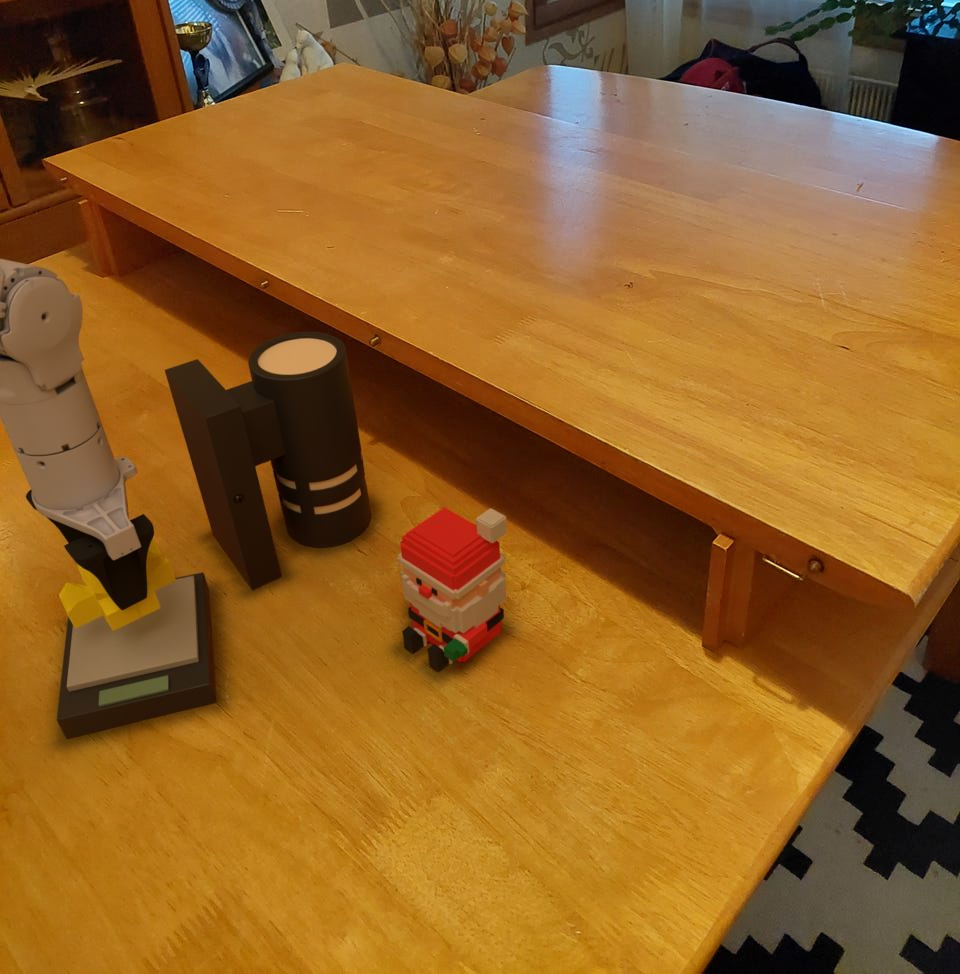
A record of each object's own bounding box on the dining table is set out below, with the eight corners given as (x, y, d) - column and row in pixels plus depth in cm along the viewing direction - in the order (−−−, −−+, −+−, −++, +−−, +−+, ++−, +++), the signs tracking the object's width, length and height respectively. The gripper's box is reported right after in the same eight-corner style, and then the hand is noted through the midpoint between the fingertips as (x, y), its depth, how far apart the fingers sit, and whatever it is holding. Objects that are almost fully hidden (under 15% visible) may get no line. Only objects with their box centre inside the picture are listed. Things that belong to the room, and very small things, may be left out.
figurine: (385, 635, 75) (367, 521, 68) (447, 589, 79) (436, 476, 72) (460, 688, 70) (449, 572, 63) (522, 637, 74) (518, 522, 67)
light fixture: (391, 529, 86) (367, 361, 75) (253, 592, 80) (206, 419, 69) (342, 479, 92) (314, 318, 82) (212, 534, 87) (163, 368, 76)
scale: (216, 703, 71) (208, 678, 69) (65, 739, 68) (53, 714, 67) (209, 590, 81) (201, 566, 79) (77, 619, 79) (67, 595, 77)
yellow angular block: (59, 601, 72) (24, 524, 67) (157, 556, 75) (131, 480, 71) (84, 644, 68) (49, 566, 63) (187, 595, 72) (161, 517, 67)
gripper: (159, 452, 60) (207, 603, 68) (74, 371, 69) (125, 513, 77) (50, 499, 56) (115, 652, 64) (-24, 407, 65) (41, 552, 73)
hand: (115, 580), depth 70 cm, fingers closed on yellow angular block, 6 cm apart
